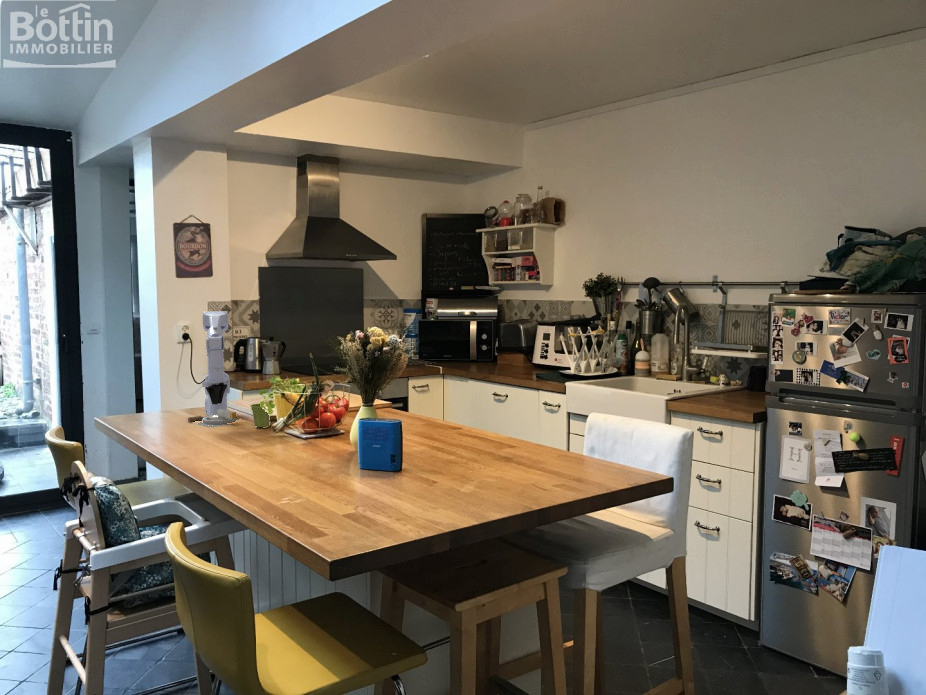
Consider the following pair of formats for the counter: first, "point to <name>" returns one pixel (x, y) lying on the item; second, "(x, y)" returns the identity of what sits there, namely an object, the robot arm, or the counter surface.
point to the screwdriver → (196, 418)
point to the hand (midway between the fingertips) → (216, 403)
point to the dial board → (216, 422)
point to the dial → (223, 415)
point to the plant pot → (259, 416)
